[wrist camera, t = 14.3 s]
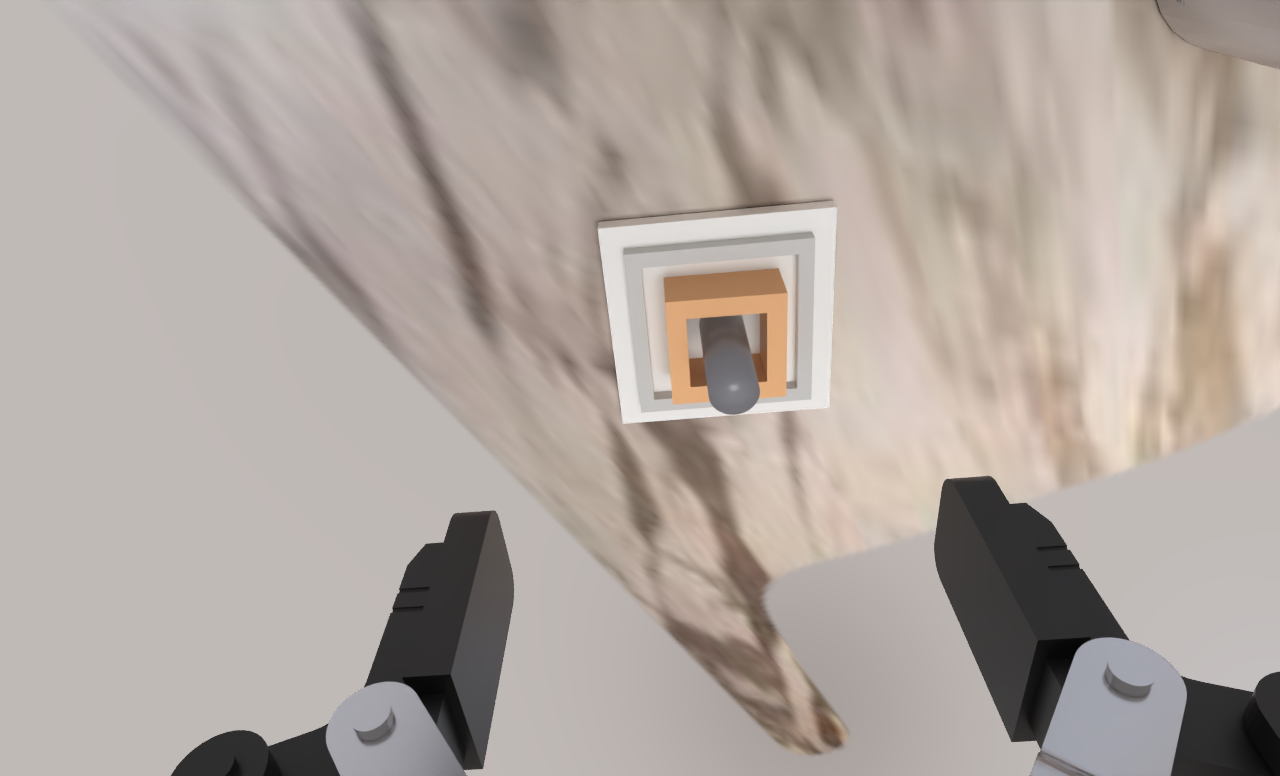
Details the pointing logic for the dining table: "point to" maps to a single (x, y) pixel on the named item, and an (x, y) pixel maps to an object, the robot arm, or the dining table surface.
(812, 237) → the post base
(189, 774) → the robot arm
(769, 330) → the ring
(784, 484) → the dining table surface
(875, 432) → the dining table surface
